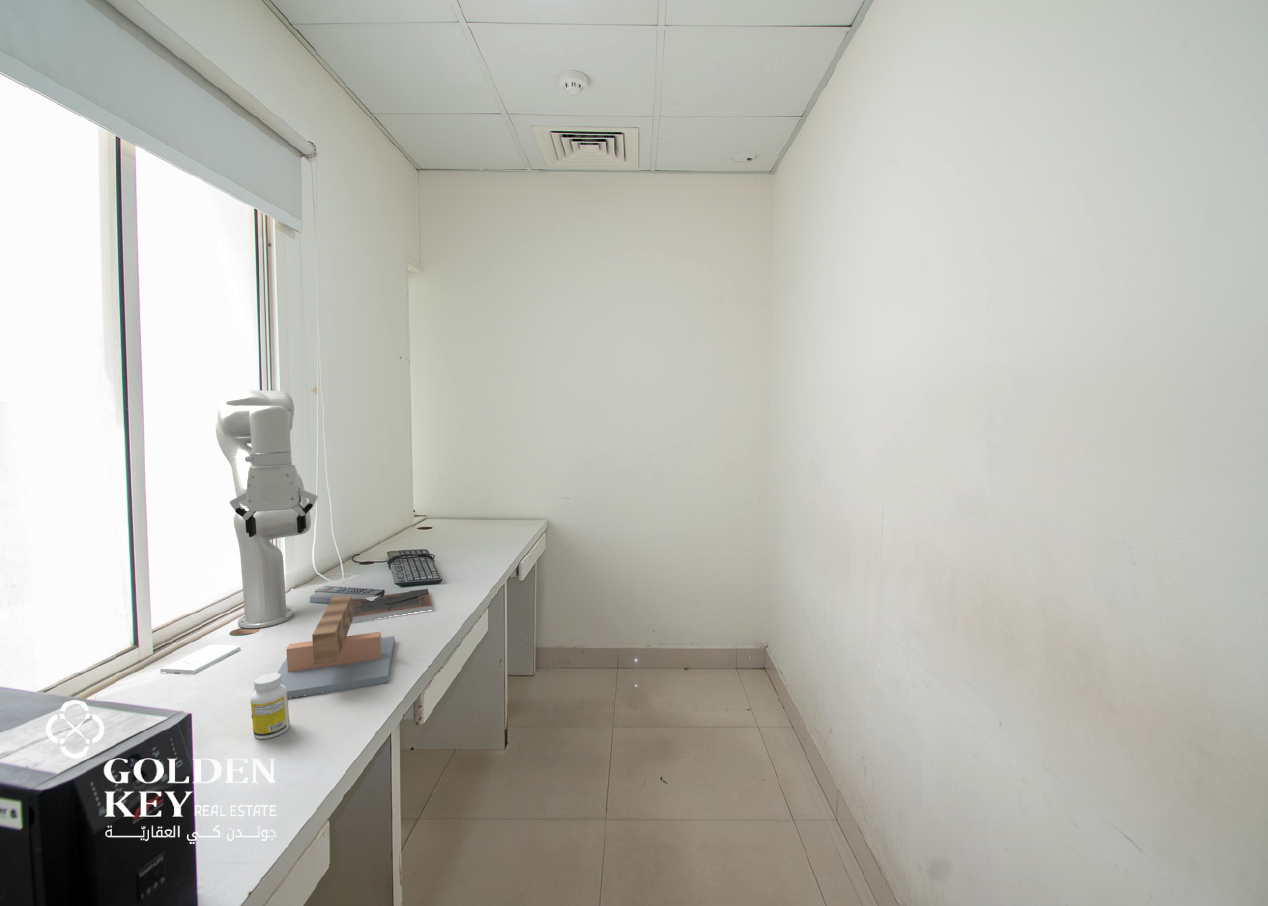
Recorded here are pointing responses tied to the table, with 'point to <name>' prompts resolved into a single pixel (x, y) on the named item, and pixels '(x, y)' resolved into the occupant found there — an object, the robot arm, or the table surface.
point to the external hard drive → (200, 659)
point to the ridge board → (338, 666)
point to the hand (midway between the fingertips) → (277, 534)
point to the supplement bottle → (269, 706)
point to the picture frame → (391, 605)
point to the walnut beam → (332, 630)
